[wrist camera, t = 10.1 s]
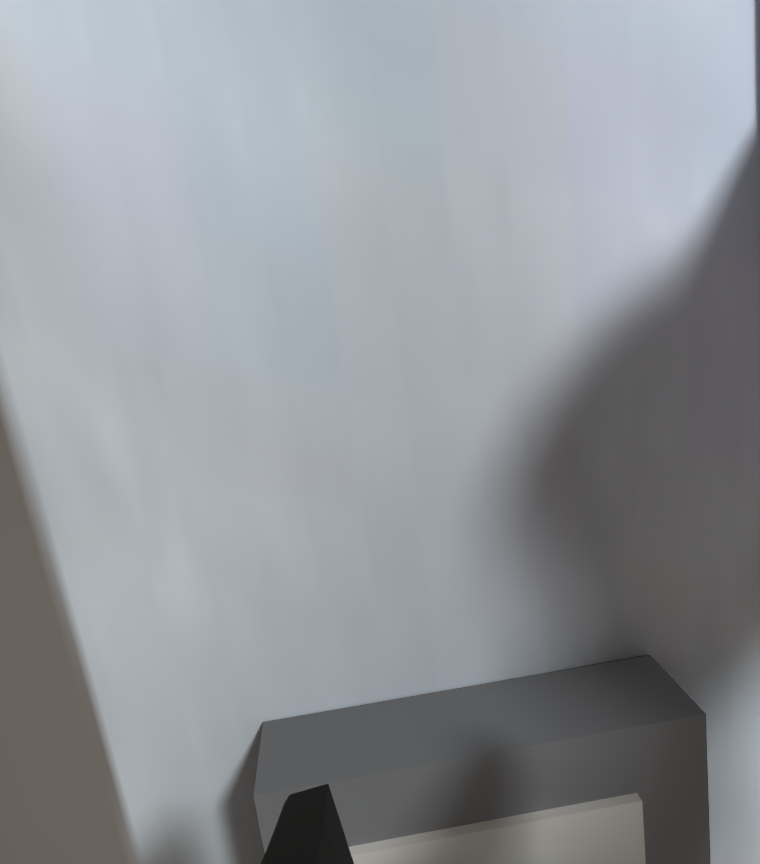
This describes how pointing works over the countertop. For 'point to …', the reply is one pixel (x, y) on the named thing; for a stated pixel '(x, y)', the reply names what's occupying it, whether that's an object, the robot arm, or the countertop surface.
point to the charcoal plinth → (507, 771)
